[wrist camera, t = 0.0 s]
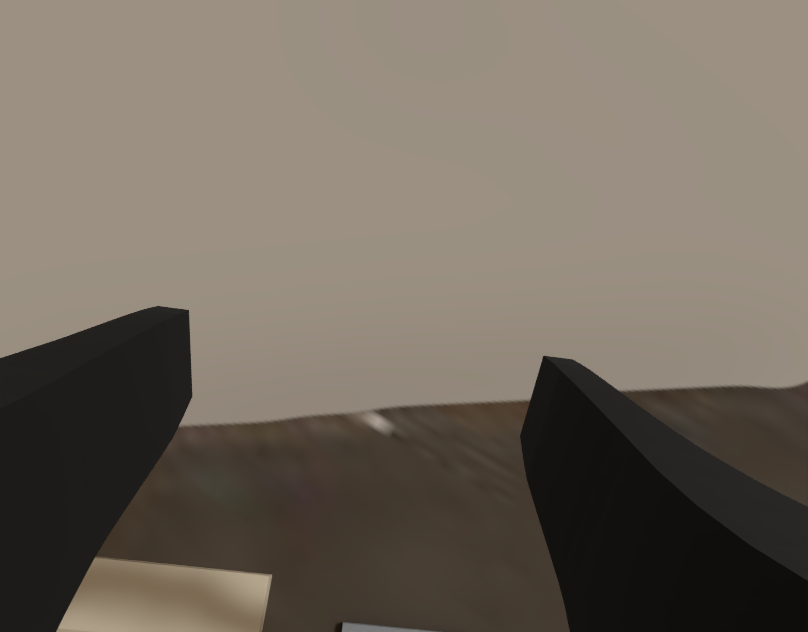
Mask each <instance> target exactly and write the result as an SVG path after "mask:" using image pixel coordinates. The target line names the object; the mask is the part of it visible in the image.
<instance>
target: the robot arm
mask: <svg viewBox="0 0 808 632" xmlns="http://www.w3.org/2000/svg"><path fill="white" fill-rule="evenodd" d="M191 398H192V379H191V354H190V329H189V310H184V309H176V308H168V307H161V306H156V307H152V308H148V309H144V310H140V311H137V312H134V313H131V314H128V315H125V316H122V317H120V318H117V319H114V320H111V321H108V322H106V323H103V324H100V325H97V326H95V327H92V328H89V329H86V330H83V331H81V332H78V333H75V334H72V335H70V336H67V337H64V338H61V339H58V340H55V341H52V342H49V343H46V344H43V345H40V346H37V347H34V348H30V349H27V350H24V351H21V352H19V353H15V354H12V355H9V356H6V357H3V358H0V632H56V631H57V629H58V627H59V625H60V623H61V621H62V619H63V617H64V615H65V613H66V611H67V609H68V607H69V605H70V603H71V602H72V600H73V598H74V596H75V594H76V592H77V590H78V588H79V586H80V585H81V583H82V581H83V579H84V577H85V575H86V573H87V571H88V569H89V568H90V566H91V564H92V562H93V560H94V558H95V556H96V555H97V553H98V551H99V550H100V548H101V546H102V545H103V543H104V541H105V540H106V538H107V536H108V535H109V533H110V532H111V530H112V529H113V527H114V526H115V524H116V523H117V521H118V520H119V518H120V517H121V515H122V514H123V512H124V511H125V509H126V508H127V506H128V505H129V503H130V502H131V500H132V499H133V497H134V496H135V494H136V493H137V491H138V490H139V488H140V487H141V485H142V484H143V482H144V481H145V479H146V478H147V476H148V475H149V473H150V472H151V470H152V469H153V467H154V466H155V464H156V463H157V461H158V460H159V458H160V457H161V455H162V454H163V452H164V451H165V449H166V448H167V446H168V444H169V443H170V441H171V440H172V438H173V436H174V434H175V432H176V430H177V428H178V426H179V424H180V422H181V420H182V418H183V416H184V413H185V411H186V409H187V407H188V404H189V402H190V400H191ZM520 438H521V445H522V453H523V460H524V465H525V471H526V477H527V481H528V484H529V488H530V491H531V495H532V498H533V501H534V505H535V508H536V511H537V514H538V518H539V521H540V524H541V527H542V530H543V534H544V537H545V540H546V543H547V546H548V550H549V553H550V556H551V559H552V562H553V566H554V569H555V572H556V575H557V578H558V582H559V586H560V589H561V593H562V597H563V601H564V605H565V609H566V614H567V619H568V624H569V629H570V632H808V507H807V506H805V505H803V504H801V503H799V502H797V501H795V500H793V499H791V498H789V497H787V496H785V495H783V494H781V493H779V492H777V491H775V490H773V489H771V488H769V487H767V486H765V485H763V484H762V483H760V482H758V481H756V480H754V479H753V478H751V477H749V476H747V475H746V474H744V473H742V472H740V471H739V470H737V469H735V468H733V467H732V466H730V465H728V464H726V463H725V462H723V461H721V460H719V459H718V458H716V457H714V456H713V455H711V454H709V453H708V452H706V451H705V450H703V449H701V448H700V447H698V446H697V445H695V444H694V443H692V442H691V441H689V440H688V439H686V438H685V437H683V436H682V435H680V434H678V433H677V432H675V431H674V430H672V429H671V428H669V427H668V426H667V425H665V424H664V423H662V422H661V421H659V420H658V419H656V418H655V417H654V416H652V415H651V414H649V413H648V412H647V411H645V410H644V409H642V408H641V407H640V406H638V405H637V404H636V403H634V402H633V401H632V400H630V399H629V398H627V397H626V396H625V395H623V394H622V393H621V392H619V391H618V390H617V389H615V388H614V387H612V386H611V385H610V384H608V383H607V382H606V381H605V380H603V379H602V378H600V377H599V376H598V375H596V374H595V373H593V372H592V371H591V370H589V369H587V368H586V367H584V366H583V365H581V364H580V363H578V362H576V361H574V360H572V359H565V358H557V357H549V356H543V359H542V363H541V366H540V370H539V373H538V377H537V380H536V383H535V387H534V390H533V394H532V397H531V400H530V404H529V407H528V411H527V414H526V418H525V421H524V424H523V428H522V431H521V435H520Z"/></svg>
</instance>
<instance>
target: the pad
mask: <svg viewBox="0 0 808 632" xmlns="http://www.w3.org/2000/svg"><path fill="white" fill-rule="evenodd" d="M342 632H440V631H430V630H420V629H410V628H400V627H389V626H379V625H369V624H359V623H349V622H343V627H342Z"/></svg>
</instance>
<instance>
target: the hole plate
mask: <svg viewBox="0 0 808 632" xmlns="http://www.w3.org/2000/svg"><path fill="white" fill-rule="evenodd" d="M271 579H272V575H271V574H261V573H251V572H242V571H232V570H222V569H212V568H203V567H193V566H183V565H174V564H164V563H154V562H144V561H135V560H125V559H115V558H105V557H96V556H95V558H94V560H93V562H92V564H91V566H90V568H89V569H88V571H87V573H86V575H85V577H84V579H83V581H82V583H81V585H80V586H79V588H78V590H77V592H76V594H75V596H74V598H73V600H72V602H71V603H70V605H69V607H68V609H67V611H66V613H65V615H64V617H63V619H62V621H61V623H60V625H59V627H58V629H57V631H56V632H262V629H263V623H264V617H265V612H266V606H267V601H268V595H269V590H270V584H271Z"/></svg>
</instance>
